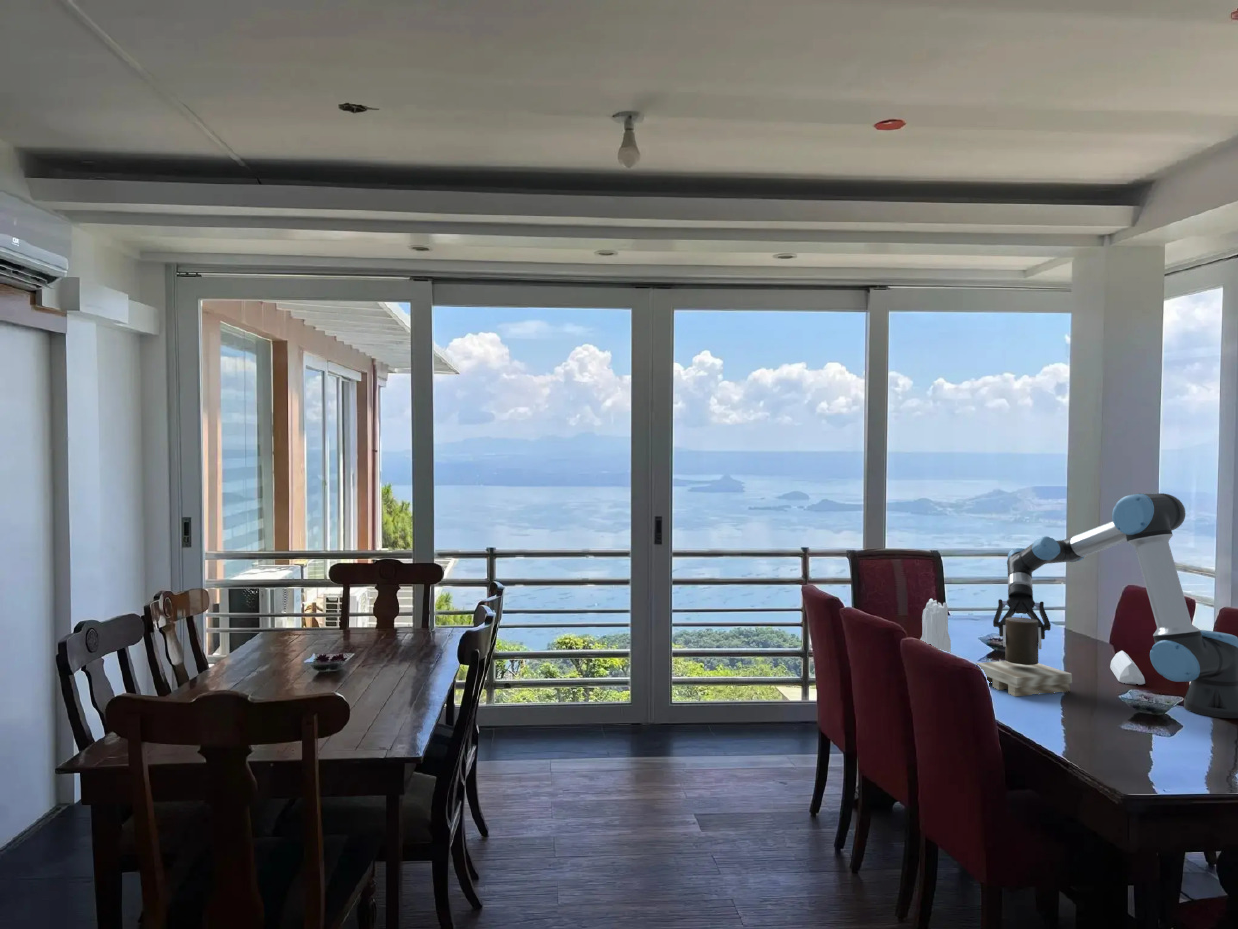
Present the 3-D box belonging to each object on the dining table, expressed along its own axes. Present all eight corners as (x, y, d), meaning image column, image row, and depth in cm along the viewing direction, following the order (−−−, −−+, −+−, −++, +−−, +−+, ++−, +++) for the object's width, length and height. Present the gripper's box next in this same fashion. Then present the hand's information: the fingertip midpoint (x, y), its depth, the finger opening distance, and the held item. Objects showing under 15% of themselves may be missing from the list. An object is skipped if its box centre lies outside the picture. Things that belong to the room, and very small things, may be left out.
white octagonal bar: (1153, 675, 268) (1139, 659, 290) (1130, 662, 271) (1119, 647, 293) (1139, 694, 270) (1127, 676, 292) (1117, 681, 272) (1107, 665, 294)
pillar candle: (1023, 666, 264) (1024, 619, 264) (998, 660, 273) (998, 614, 273) (1045, 663, 268) (1045, 617, 268) (1019, 657, 277) (1019, 612, 277)
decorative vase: (953, 676, 284) (952, 603, 284) (919, 674, 288) (919, 601, 288) (951, 668, 295) (950, 598, 295) (919, 666, 298) (918, 597, 298)
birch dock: (1027, 677, 282) (1027, 659, 282) (1072, 692, 263) (1071, 673, 263) (975, 681, 278) (975, 663, 278) (1017, 697, 258) (1016, 678, 258)
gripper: (1056, 597, 280) (1060, 654, 265) (984, 594, 289) (984, 649, 274) (1057, 584, 275) (1061, 641, 260) (984, 581, 284) (984, 636, 270)
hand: (1022, 645), depth 267 cm, fingers closed on pillar candle, 10 cm apart
